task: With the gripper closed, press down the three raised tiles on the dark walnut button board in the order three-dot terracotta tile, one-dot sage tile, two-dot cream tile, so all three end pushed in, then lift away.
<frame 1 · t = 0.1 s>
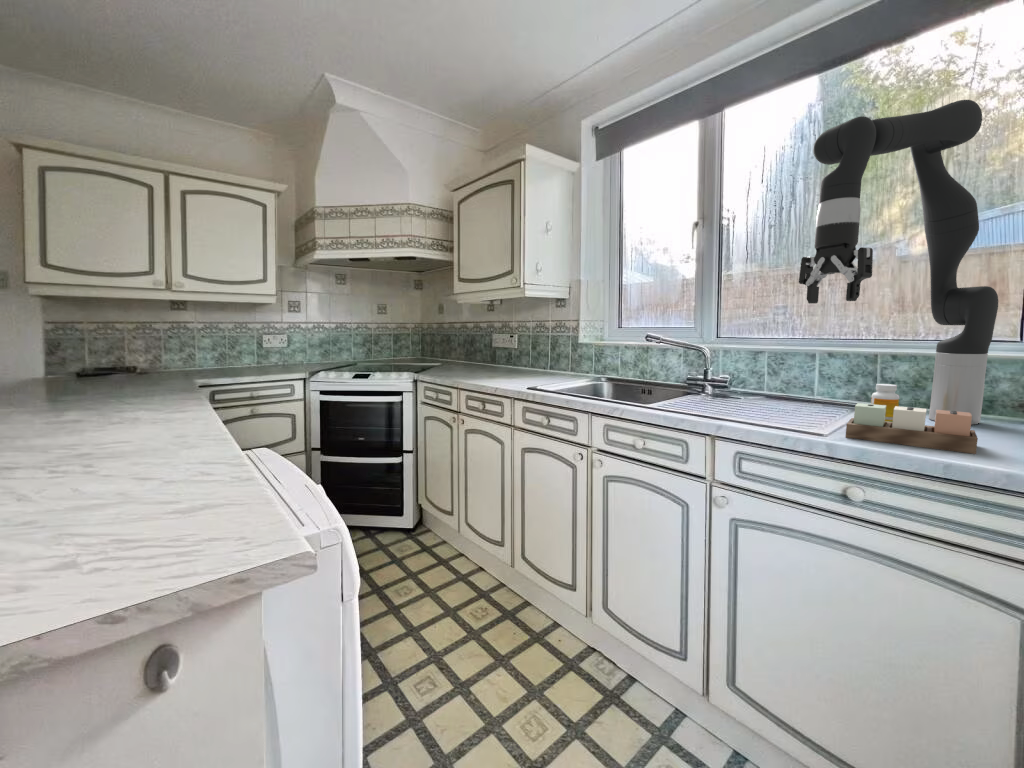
hand: (831, 302, 98), 29 cm above the counter, tool pointing down, fingers open, 8 cm apart
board: (906, 440, 96), on the counter
tile 2: (909, 418, 95), point 5 cm above the counter, slide at 0.0 cm
supplement bottle: (882, 424, 113), on the counter
tile 3: (952, 422, 91), point 5 cm above the counter, slide at 0.0 cm
tile 1: (869, 414, 100), point 5 cm above the counter, slide at 0.0 cm
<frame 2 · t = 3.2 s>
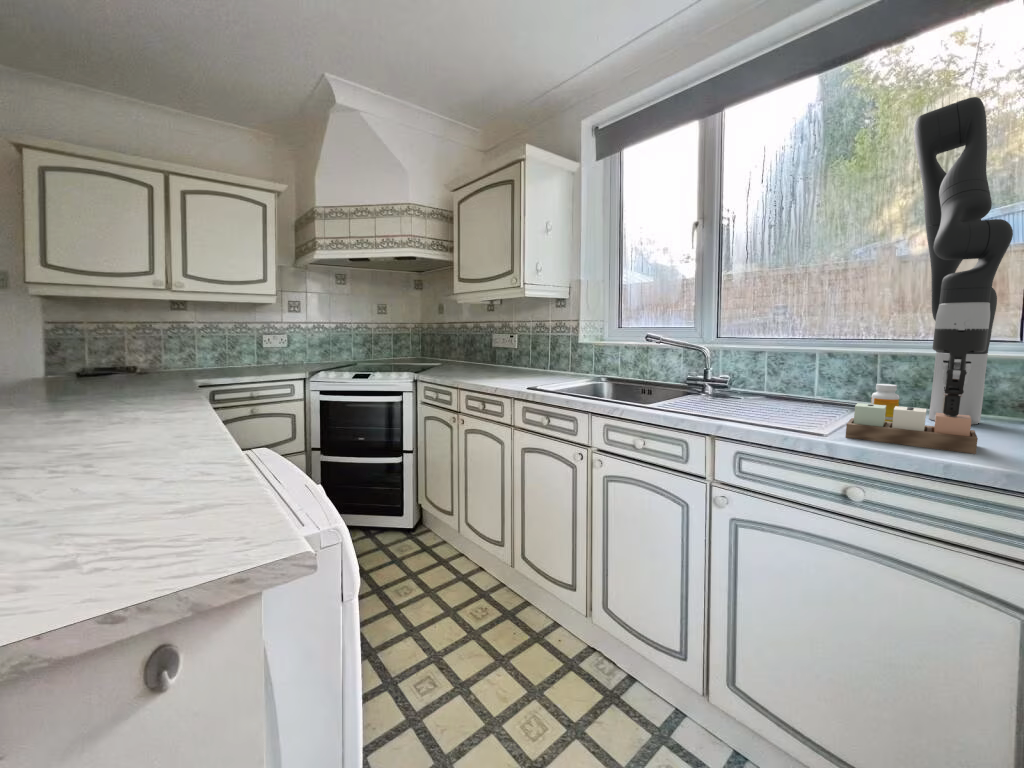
hand: (950, 414, 91), 6 cm above the counter, tool pointing down, fingers closed
tile 3: (951, 425, 91), point 4 cm above the counter, slide at 0.6 cm, touching gripper
everything else where it was.
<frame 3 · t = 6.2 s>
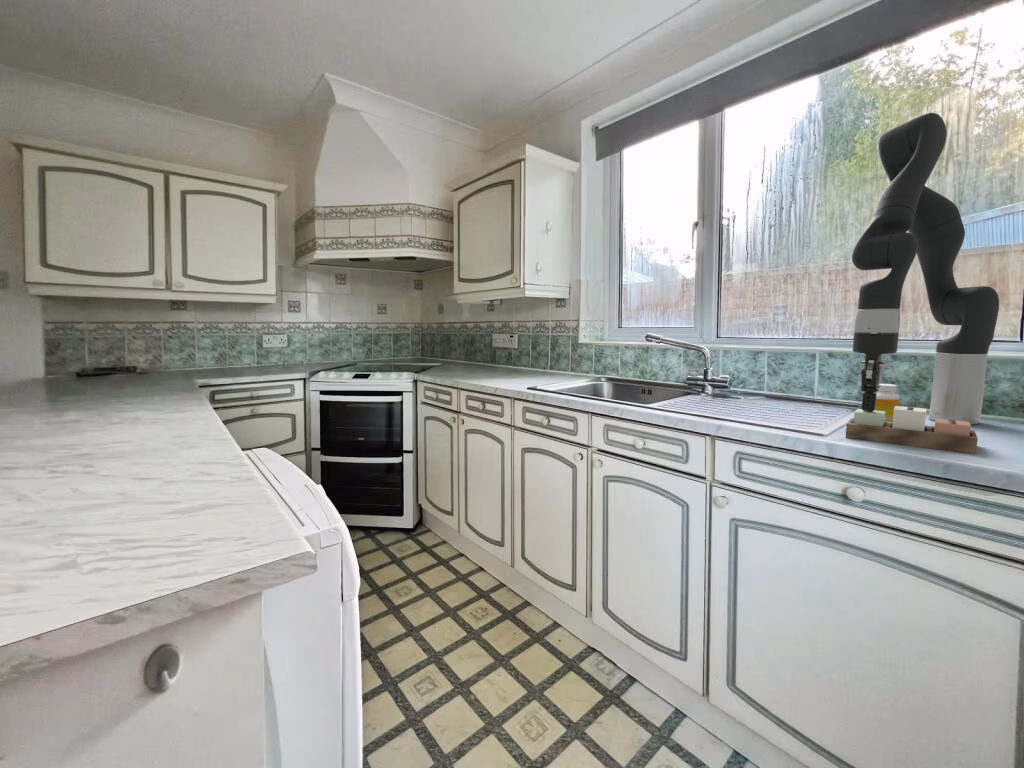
hand: (868, 410, 100), 6 cm above the counter, tool pointing down, fingers closed
tile 3: (951, 431, 91), point 3 cm above the counter, slide at 1.9 cm
tile 1: (869, 420, 100), point 4 cm above the counter, slide at 1.3 cm, touching gripper
everything else where it was.
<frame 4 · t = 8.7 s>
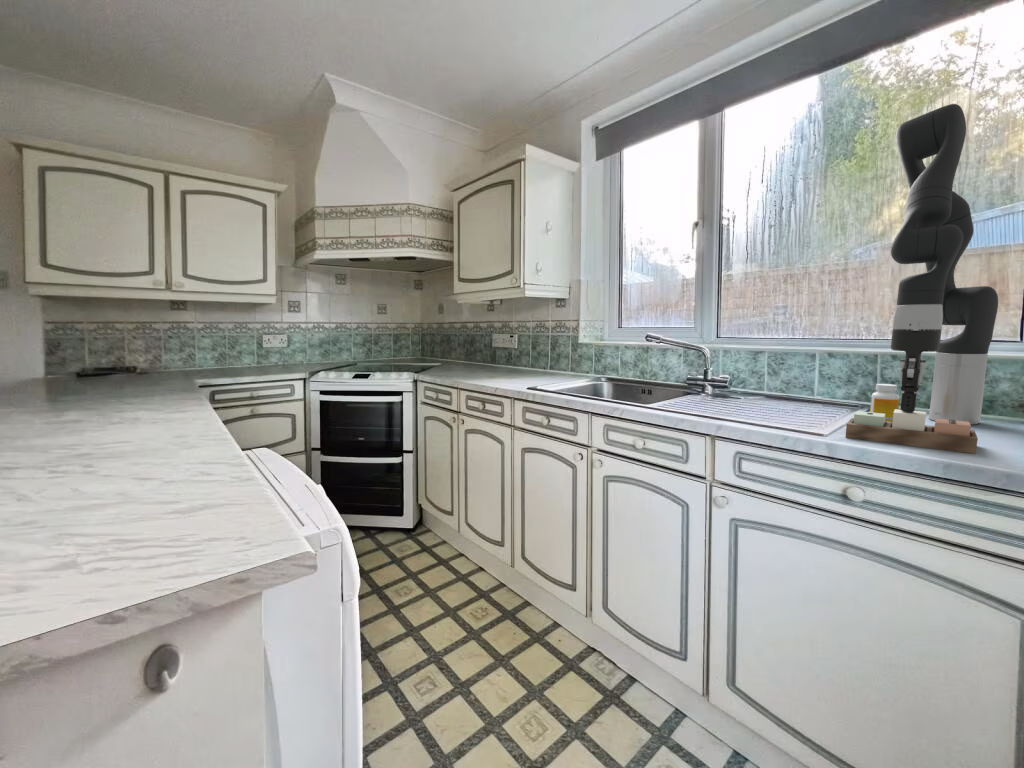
hand: (907, 411, 95), 6 cm above the counter, tool pointing down, fingers closed
tile 2: (908, 421, 95), point 4 cm above the counter, slide at 0.7 cm, touching gripper
tile 1: (869, 422, 100), point 3 cm above the counter, slide at 1.8 cm
everything else where it was.
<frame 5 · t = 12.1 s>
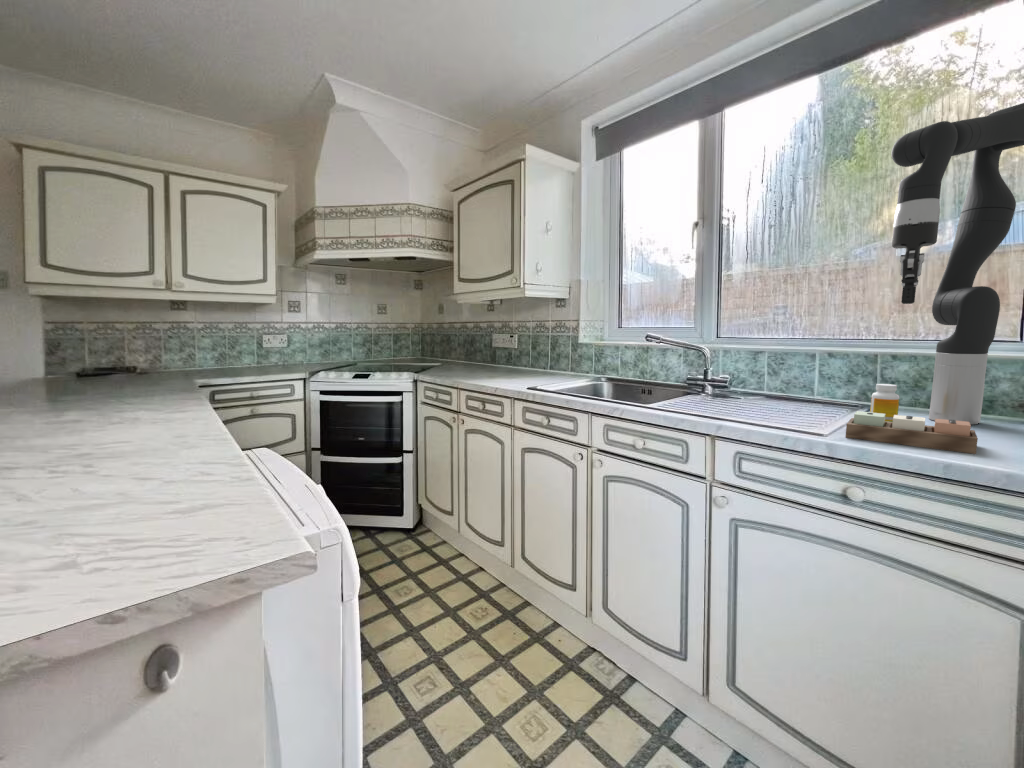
hand: (907, 303, 103), 29 cm above the counter, tool pointing down, fingers closed
tile 2: (908, 426, 96), point 3 cm above the counter, slide at 1.9 cm
everything else where it was.
at the end: tile 3 slide at 1.9 cm; tile 1 slide at 1.8 cm; tile 2 slide at 1.9 cm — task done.
